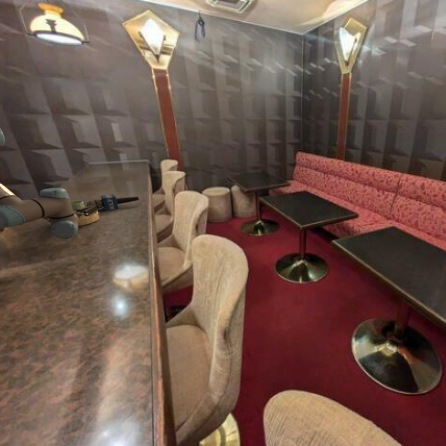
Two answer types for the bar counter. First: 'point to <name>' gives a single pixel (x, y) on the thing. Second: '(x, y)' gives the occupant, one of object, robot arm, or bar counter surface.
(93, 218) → the bowl
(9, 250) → the bar counter surface
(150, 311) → the bar counter surface
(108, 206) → the microphone
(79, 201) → the tumbler
